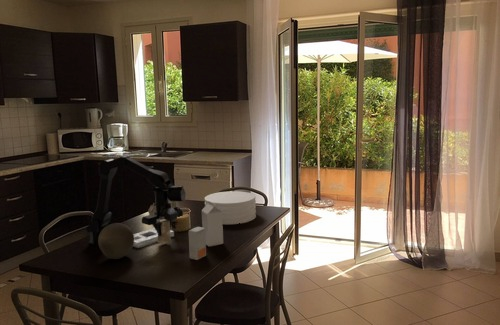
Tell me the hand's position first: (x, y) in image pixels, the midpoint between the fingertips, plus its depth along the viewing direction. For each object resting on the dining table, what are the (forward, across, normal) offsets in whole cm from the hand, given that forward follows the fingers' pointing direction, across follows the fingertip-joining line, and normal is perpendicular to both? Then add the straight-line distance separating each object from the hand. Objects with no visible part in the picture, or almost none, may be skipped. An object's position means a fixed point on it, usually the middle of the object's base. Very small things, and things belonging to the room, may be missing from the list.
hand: (164, 234), depth 177 cm
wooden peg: (+4, 0, 0) cm, 4 cm away
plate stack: (+5, +50, +7) cm, 51 cm away
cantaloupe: (+5, -22, +2) cm, 23 cm away
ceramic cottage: (+5, +27, +35) cm, 44 cm away
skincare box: (+5, 0, -23) cm, 24 cm away
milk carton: (+5, +15, -16) cm, 22 cm away
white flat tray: (+5, 0, +12) cm, 13 cm away
